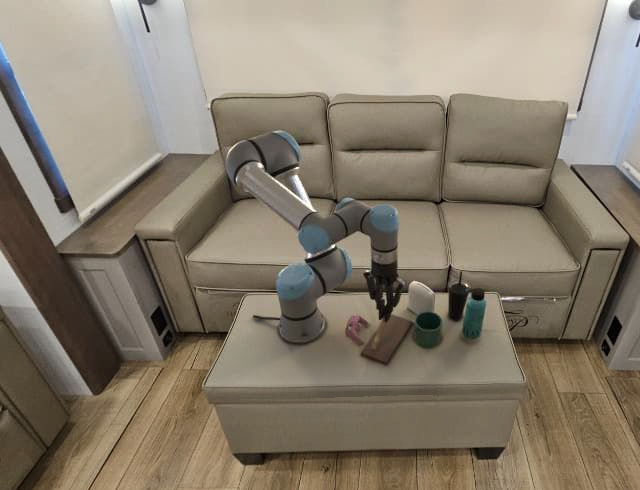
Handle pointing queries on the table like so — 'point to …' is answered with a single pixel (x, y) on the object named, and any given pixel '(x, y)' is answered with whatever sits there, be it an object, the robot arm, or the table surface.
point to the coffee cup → (427, 329)
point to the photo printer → (420, 298)
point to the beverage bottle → (474, 314)
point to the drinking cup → (457, 297)
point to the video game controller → (354, 327)
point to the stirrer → (378, 333)
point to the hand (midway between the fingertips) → (384, 318)
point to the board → (388, 339)
